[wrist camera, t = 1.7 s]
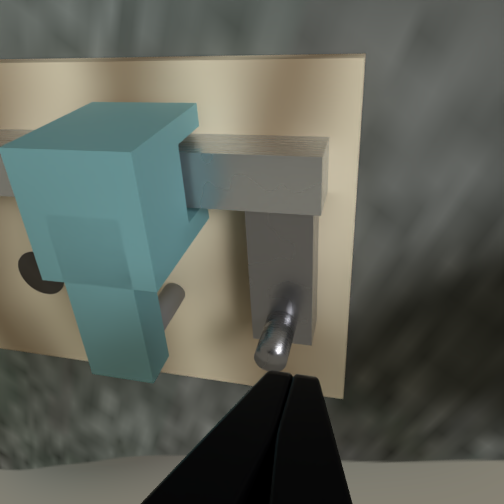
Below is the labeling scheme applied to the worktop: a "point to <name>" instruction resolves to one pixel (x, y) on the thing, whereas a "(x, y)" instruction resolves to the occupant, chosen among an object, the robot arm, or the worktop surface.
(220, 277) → the template board
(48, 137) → the sliding leg
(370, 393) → the worktop surface
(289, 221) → the fixed leg
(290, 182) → the rail
